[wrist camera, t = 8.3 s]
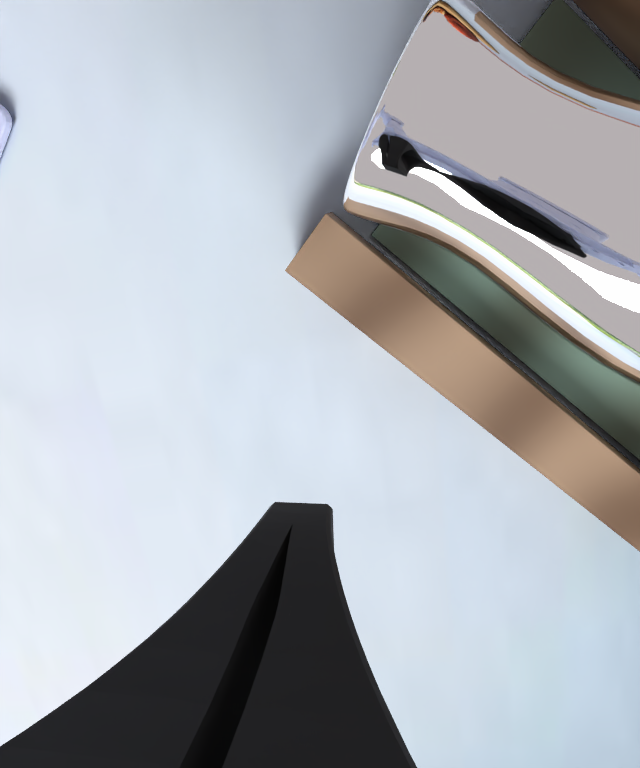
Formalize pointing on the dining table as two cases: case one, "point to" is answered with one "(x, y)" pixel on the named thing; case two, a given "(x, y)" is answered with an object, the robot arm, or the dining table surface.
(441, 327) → the cradle
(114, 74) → the dining table surface
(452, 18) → the beer glass
